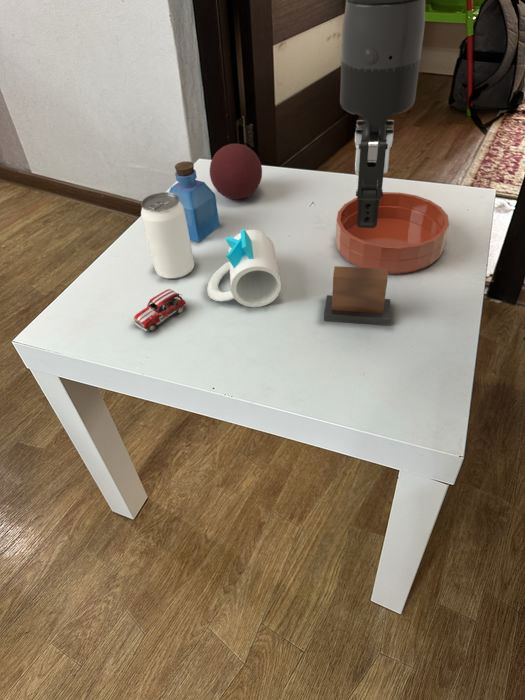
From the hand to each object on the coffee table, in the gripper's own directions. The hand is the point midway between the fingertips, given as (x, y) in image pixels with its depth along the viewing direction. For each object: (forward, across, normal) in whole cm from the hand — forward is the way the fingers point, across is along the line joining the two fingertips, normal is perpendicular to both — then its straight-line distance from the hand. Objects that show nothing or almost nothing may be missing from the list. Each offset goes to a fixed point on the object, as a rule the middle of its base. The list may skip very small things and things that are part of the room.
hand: (368, 207), depth 59 cm
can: (+16, +8, +30) cm, 35 cm away
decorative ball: (+16, +33, +25) cm, 45 cm away
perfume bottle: (+16, +20, +30) cm, 40 cm away
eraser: (+16, 0, 0) cm, 16 cm away
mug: (+16, +5, +18) cm, 25 cm away
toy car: (+16, -4, +28) cm, 33 cm away
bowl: (+16, +18, -4) cm, 25 cm away
